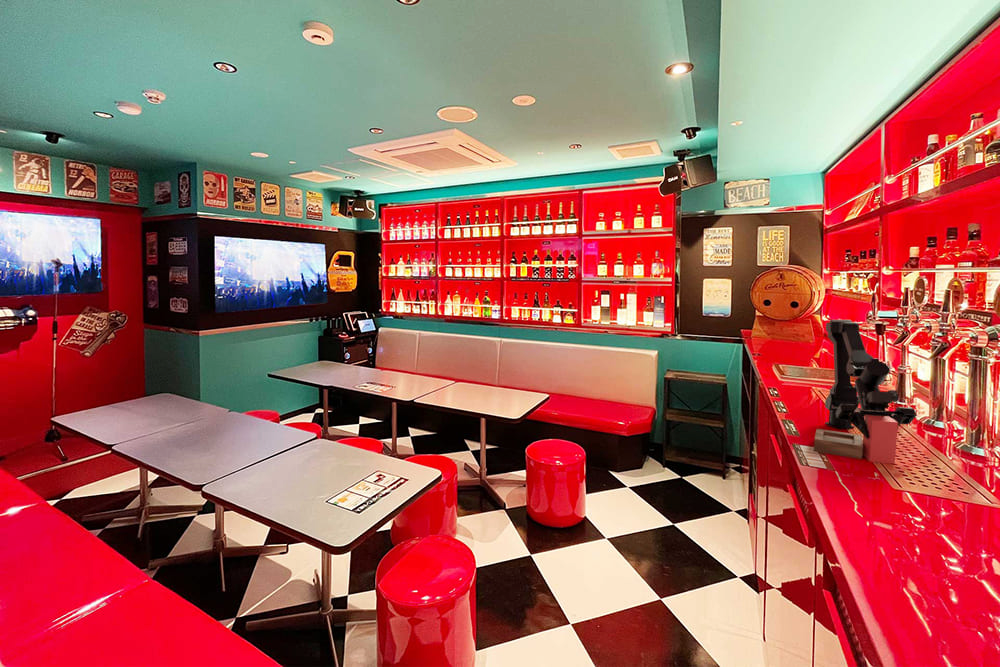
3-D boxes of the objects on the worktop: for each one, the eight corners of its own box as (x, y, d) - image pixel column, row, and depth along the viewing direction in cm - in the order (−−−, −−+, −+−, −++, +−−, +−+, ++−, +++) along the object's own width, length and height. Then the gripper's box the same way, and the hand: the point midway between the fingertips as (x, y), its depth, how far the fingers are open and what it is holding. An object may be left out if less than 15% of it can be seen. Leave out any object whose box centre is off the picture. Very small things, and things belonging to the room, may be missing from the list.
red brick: (861, 454, 144) (864, 414, 143) (885, 456, 142) (889, 416, 141) (869, 461, 139) (872, 420, 137) (894, 463, 137) (898, 422, 135)
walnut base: (816, 440, 157) (816, 428, 157) (861, 447, 150) (862, 435, 149) (813, 451, 147) (814, 438, 147) (861, 459, 140) (862, 446, 140)
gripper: (841, 378, 144) (851, 423, 135) (916, 381, 138) (932, 429, 129) (831, 396, 153) (840, 440, 144) (901, 400, 146) (916, 446, 137)
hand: (881, 439), depth 138 cm, fingers closed on red brick, 6 cm apart
